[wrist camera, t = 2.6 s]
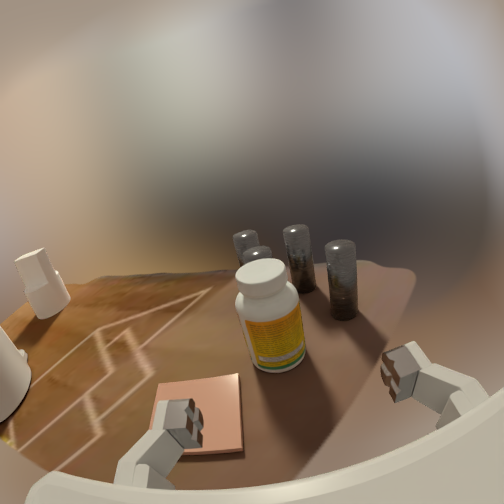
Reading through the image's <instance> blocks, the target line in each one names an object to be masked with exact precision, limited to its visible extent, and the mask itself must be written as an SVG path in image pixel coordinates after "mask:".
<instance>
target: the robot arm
mask: <svg viewBox="0 0 504 504" xmlns="http://www.w3.org/2000/svg"><path fill="white" fill-rule="evenodd" d="M382 361H383V364H382V365H381V377H382V379H383V382H384V384H385V385H386V386H388V387H390V390H389V394H390V395H391V397H392V399H393V401H394V403H397V402H399V401H402V400H404V399H407V398H409V397H412V398H414V399H415V400H417V401H419V402H420V403H422V404H424V405H425V406H427V407H429V408H430V409H432V410H434V411H436V412H437V413H439V414H441V416H440V419H439V420H438V422H437V424H436V428H437V430H436V431H434V432H432V433H430V434H428V435H427V436H424V437H422V438H420V439H418V440H416V441H414V442H412V443H410V444H407V445H405V446H403V447H400V448H398V449H396V450H393V451H391V452H388V453H386V454H383V455H381V456H378V457H376V458H373V459H370V460H367V461H364V462H361V463H358V464H355V465H352V466H349V467H346V468H343V469H339V470H336V471H332V472H328V473H324V474H320V475H316V476H312V477H308V478H303V479H298V480H293V481H288V482H282V483H276V484H270V485H263V486H255V487H246V488H235V489H220V490H175V486H174V485H173V484H172V483H171V482H169V481H168V480H167V479H165V478H166V477H167V475H168V474H169V472H170V471H171V470H172V468H173V467H174V465H175V464H176V462H177V461H178V459H179V458H180V456H181V455H182V454H183V452H184V451H185V450H184V449H195V448H202V447H203V435H202V434H201V432H200V431H201V430H202V429H203V428H204V420H203V415H202V413H201V411H200V409H199V408H197V407H195V401H194V400H193V399H192V398H189V399H175V400H160V401H159V402H158V403H157V407H156V412H155V416H154V421H153V426H152V430H148V431H147V432H146V433H145V435H144V436H143V437H142V438H141V439H140V440H139V441H138V442H137V443H136V444H135V445H134V446H133V447H132V448H131V449H130V450H129V451H128V452H127V453H126V454H125V455H124V456H123V457H122V458H121V459H120V460H119V461H118V466H117V470H116V475H115V479H114V484H111V483H106V482H100V481H95V480H90V479H86V478H81V477H77V476H73V475H69V474H66V473H62V472H59V471H52V472H50V473H48V474H47V475H45V476H44V477H43V478H41V479H40V480H39V481H37V482H36V483H35V484H34V485H33V486H32V487H31V489H30V491H29V493H28V495H27V498H26V501H25V503H24V504H504V387H503V388H502V389H501V390H499V391H498V392H497V393H495V394H494V395H493V396H492V397H489V396H488V394H487V393H486V392H485V390H484V389H483V387H482V386H481V385H480V383H479V382H478V381H477V380H476V379H475V378H472V377H469V376H467V375H464V374H462V373H459V372H456V371H454V370H451V369H449V368H446V367H443V366H441V365H438V364H436V363H434V364H432V363H431V362H430V361H429V359H428V358H427V357H426V355H425V354H424V353H423V351H422V350H421V349H420V347H419V346H418V345H417V343H416V342H414V341H412V342H410V343H407V344H405V345H402V346H399V347H397V348H394V349H392V350H389V351H387V352H384V353H383V354H382ZM30 380H31V370H30V367H29V366H28V364H27V353H26V352H25V351H24V350H18V349H17V348H16V347H15V345H14V344H13V343H12V341H11V340H10V339H9V337H8V336H7V335H6V333H5V332H4V330H3V329H2V328H1V326H0V422H2V421H3V420H5V419H6V418H7V417H8V416H9V415H10V414H11V413H12V412H13V411H14V410H15V409H16V408H17V406H18V405H19V404H20V402H21V401H22V399H23V398H24V396H25V394H26V392H27V390H28V387H29V384H30Z"/></svg>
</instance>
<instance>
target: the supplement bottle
mask: <svg viewBox="0 0 504 504" xmlns="http://www.w3.org/2000/svg"><path fill="white" fill-rule="evenodd" d="M287 280H288V276H287V272H286V268H285V265H284V263H283V262H282V261H280V260H278V259H272V258H266V259H259V260H255V261H252V262H249V263H247V264H245V265H243V266H242V267H241V268H240V269H239V270H238V271H237V273H236V281H237V285H238V289H239V291H240V292H239V294H238V296H237V298H236V302H235V307H236V311H237V315H238V318H239V321H240V325H241V328H242V331H243V334H244V338H245V341H246V344H247V347H248V351H249V354H250V357H251V360H252V362H253V363H254V365H255V366H256V367H257V368H259V369H260V370H262V371H265V372H271V373H281V372H285V371H288V370H291V369H292V368H294V367H296V366H297V365H298V364H299V363H300V362H301V361H302V359H303V358H304V355H305V351H306V346H305V338H304V331H303V323H302V316H301V310H300V302H299V296H298V292H297V290H296V288H295V287H294V286H293V285H292V284H291V283H290V282H288V281H287Z"/></svg>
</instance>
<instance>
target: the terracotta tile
mask: <svg viewBox="0 0 504 504" xmlns="http://www.w3.org/2000/svg"><path fill="white" fill-rule="evenodd" d="M189 398H192V399H193V400H194V401H195V407H197V408H199V409H200V411H201V413H202V415H203V420H204V428H203V429H202V430H201V431H200V432H201V434H202V435H203V447H202V448H195V449H184V450H185V451H184V452H183V454H182V455H202V454H217V453H229V452H238V451H243V434H242V416H241V397H240V377H239V375H238V373H237V374H231V375H225V376H219V377H212V378H205V379H197V380H189V381H181V382H171V383H160V384H159V385H158V389H157V394H156V399H155V403H154V408H153V413H152V418H151V422H150V428H149V430H152V426H153V421H154V416H155V412H156V407H157V403H158V402H159V401H160V400H175V399H189Z"/></svg>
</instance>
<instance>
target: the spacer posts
mask: <svg viewBox="0 0 504 504" xmlns="http://www.w3.org/2000/svg"><path fill="white" fill-rule="evenodd" d="M283 234H284V240H285V245H286V250H287V256H288V262H289V267H290V273H291V279H292V285H293V286H294V287H295V288H296V290H297V292H298V293H302V294H303V293H309V292H311V291H313V290H314V289H315V288H316V280H315V273H314V265H313V257H312V251H311V243H310V236H309V230H308V226H306V225H292V226H289V227H287V228H285V229H284V230H283ZM233 241H234V244H235V248H236V252H237V256H238V260H239V263H240V267H242V266H243V265H245V264H247V263H249V262H252V261H255V260H259V259H266V258H272V253H271V249H270V248H269V247H267V246H259V241H258V236H257V232H256V231H254V230H246V231H242V232H239V233H237V234H235V235H234V236H233ZM325 253H326V262H327V272H328V282H329V293H330V305H331V315H332V316H333V318H335V319H337V320H342V321H344V320H350V319H352V318H354V317H355V316H356V315H357V313H358V295H357V267H356V250H355V243H354V242H352V241H350V240H335V241H332V242H329V243H328V244H326V246H325ZM272 259H273V258H272Z"/></svg>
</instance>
